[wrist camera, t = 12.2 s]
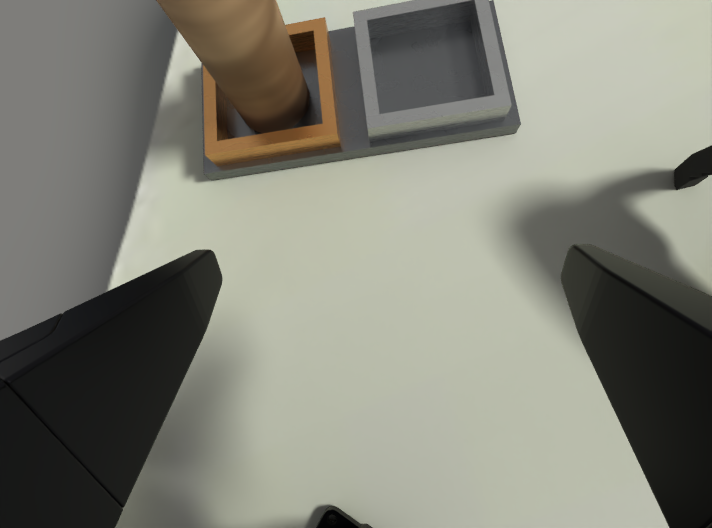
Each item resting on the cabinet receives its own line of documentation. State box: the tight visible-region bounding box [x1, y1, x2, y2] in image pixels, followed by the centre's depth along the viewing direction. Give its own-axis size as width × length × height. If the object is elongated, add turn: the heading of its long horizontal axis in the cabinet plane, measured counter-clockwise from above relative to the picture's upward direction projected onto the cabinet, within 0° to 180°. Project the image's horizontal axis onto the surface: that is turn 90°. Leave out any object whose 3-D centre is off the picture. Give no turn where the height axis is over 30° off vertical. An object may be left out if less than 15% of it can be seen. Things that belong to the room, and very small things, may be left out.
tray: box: [202, 0, 521, 180], centre depth 23 cm, size 20×9×2 cm, turn 96°
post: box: [156, 0, 310, 133], centre depth 18 cm, size 5×5×13 cm
